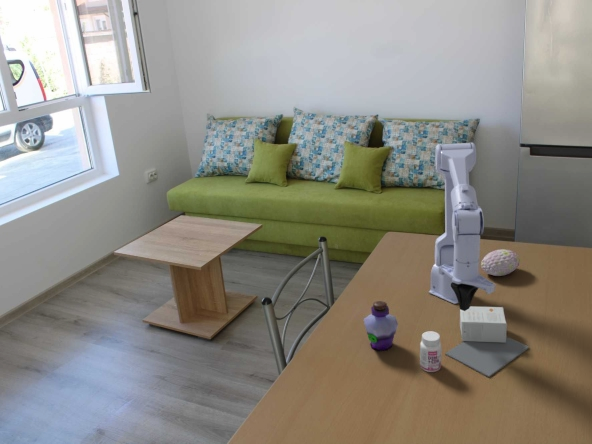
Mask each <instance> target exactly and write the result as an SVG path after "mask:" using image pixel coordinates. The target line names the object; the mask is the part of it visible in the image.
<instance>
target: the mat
mask: <svg viewBox="0 0 592 444" xmlns="http://www.w3.org/2000/svg"><path fill="white" fill-rule="evenodd" d="M529 349H530V347H529V345H526V344H524V343H522V342H519V341H518V340H515V339H514V338H510V337H509V336H506V343H500V342H474V341H462V342H461V343H459V344H458V345H456V346H454V347H452V348H451V349H450V350H448V351H446V352H445V353H444V354H445V356H447V357H449V358H451V359H452V360H454V361H456V362H458V363H460V364H462V365H464V366H466V367H468V368H469V369H472V370H474V371H476V372H477V373H480V374H481V375H483V376H486V377H487V378H491V377H492V376H493V375H495V374H496V373H498V371H500V370H501V369H503V368H504V367H505V366H507V365H508V364H509V363H511V362H512V361H513V360H515V359H516V358H517V357H519V356H520V355H521V354H524V352H526V351H528V350H529Z"/></svg>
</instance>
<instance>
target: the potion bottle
mask: <svg viewBox="0 0 592 444" xmlns="http://www.w3.org/2000/svg"><path fill="white" fill-rule="evenodd" d="M370 311H371V313H370V314H369V315H367V316H366V317H364V318H363V323H364V327H365V331H366V334H367V338H368V340H369V341H370V347H371V349H372V350H375V351H377V352H386V351H387V352H388V351H389V350H390V349H391V348H392V347H393V342H394V337H395V335H396V333H397V329H398V326H399V323H398V321H397V317H396V315H392V314H390V309H389V306H388V305H387V302H385V301H383V300H377V301H374V302H373V303H372V306H371V307H370Z"/></svg>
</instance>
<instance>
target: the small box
mask: <svg viewBox="0 0 592 444" xmlns="http://www.w3.org/2000/svg"><path fill="white" fill-rule="evenodd" d="M459 327H460V334H461V341H462V342H463V341H474V342H500V343H506V337H507V328H508V327H507V320H506V316H505V310H504V307H503V306H473V305H472V306H471V305H470V308H469V309H467V310H466V311H463V310H461V309H460V308H459Z"/></svg>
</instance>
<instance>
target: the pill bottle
mask: <svg viewBox="0 0 592 444" xmlns="http://www.w3.org/2000/svg"><path fill="white" fill-rule="evenodd" d="M419 347H420V348H419V349H420V350H419V359H420V360H419V365H420V366H419V367H420V368H421V369H422V370H423V371H425V372H428V373H434V372H438V371H439V370H440V369H441V367H442V343H441V336H440V333H438V332H436V331H431V330H429V331H425V332H423V333H422V334H421V341H420V343H419Z"/></svg>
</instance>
